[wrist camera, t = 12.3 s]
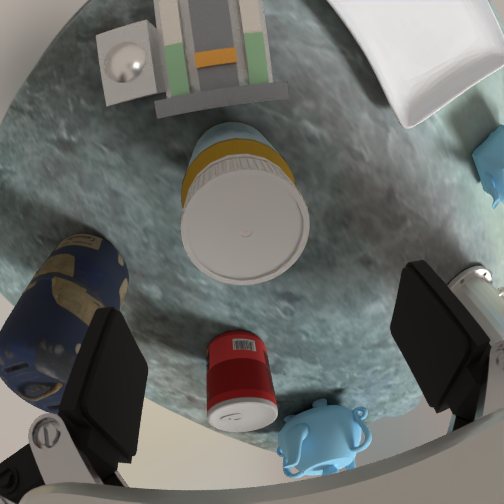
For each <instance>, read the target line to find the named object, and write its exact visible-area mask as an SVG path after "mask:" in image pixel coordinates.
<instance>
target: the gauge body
mask: <svg viewBox="0 0 504 504" xmlns="http://www.w3.org/2000/svg"><path fill="white" fill-rule="evenodd" d="M153 1H154V10H155V18H156V26H157V28H155V27H154V26H153V25H152V24H151V23H150V22H149V21H148V20H143V21H139V22H136V23H132V24H129V25H126V26H122V27H119V28H116V29H113V30H110V31H107V32H104V33H101V34H98V35H96V41H97V50H98V57H99V64H100V71H101V77H102V84H103V89H104V95H105V101H106V106H110V105H115V104H119V103H124V102H128V101H131V100H135V99H139V98H143V97H147V96H151V95H155V94H160V93H164V92H166V95H167V98H170V97H175V96H180V95H185V94H190V93H196V92H201V91H200V85H199V78H198V71H197V68H196V64H195V56H194V53H195V50H194V42H193V35H192V28H191V20H190V12H189V4H188V0H153ZM228 4H229V11H230V19H231V26H232V33H233V41H234V47H236V55H237V71H238V79H239V86H243V85H252V84H262V83H273V77H272V69H271V60H270V52H269V44H268V36H267V29H266V22H265V14H264V7H263V0H228Z"/></svg>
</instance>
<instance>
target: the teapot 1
mask: <svg viewBox="0 0 504 504" xmlns="http://www.w3.org/2000/svg"><path fill="white" fill-rule="evenodd" d="M312 406H313V408H312V409H309V410H306V411H304V412H301V413H299V414H297V415H289V416H286V417H285V418H284V421H285V422H286V424H285V425H284V426H283V428H282V429H281V431H280V432H279V434H278V443H279V447H278V449H277V454H278V455H279V456H280V457H284V458H283V471H284V474H285V475H286V476H288V477H290V478H300V477H302V476H304V475H321V474H322V476H325V475H330V474H334V473H338V472H339V471H338V470H339V469H341V468H343V467H345V468H346V469H347V470H349V469H353V468H356V465H355V456H356V453H357V452H360V451H362V450H364V449H365V448H367V447H368V445H369V444H370V443H371V440H372V435H371V432H370V430H369V428H368V427H367V426H366V424H365V423H364V422H363V421H362V419H365V418H366V417H367V414H368V411H367V409H366V408H365V407H357V408H355V409H354V410H351V409H349V408H346V407H344V406H340V405H327V400H326V399H318V400H316V401H314V402H313V403H312ZM360 412H363V415H362V416H361V417H359V413H360ZM361 428H362V430H363V432H364V434H365V441H364V442H363V444H361V445H360V446H359V443H360V439H361ZM282 453H283V454H282ZM293 466H294V467H295V468H296V469H298V470H299V471H300V472H298V473H296V474H292V473H291V471H290V467H293Z"/></svg>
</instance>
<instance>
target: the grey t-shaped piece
mask: <svg viewBox="0 0 504 504" xmlns="http://www.w3.org/2000/svg"><path fill="white" fill-rule="evenodd" d="M188 4H189V12H190V20H191V28H192V35H193V42H194V50H195V53H194V56H195V64H196V68H197V71H198V78H199V85H200V91H201V92H196V93H190V94H185V95H180V96H175V97H170V98H166V99H161V100H157V101H154V104H155V110H156V115H157V119H159V118H164V117H168V116H173V115H178V114H183V113H188V112H194V111H199V110H205V109H211V108H218V107H224V106H231V105H239V104H247V103H256V102H265V101H276V100H288V99H289V92H288V82H274V83H262V84H252V85H243V86H239V79H238V71H237V55H236V47H234V41H233V33H232V26H231V19H230V11H229V4H228V0H188Z"/></svg>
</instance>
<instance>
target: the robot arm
mask: <svg viewBox="0 0 504 504" xmlns="http://www.w3.org/2000/svg"><path fill="white" fill-rule="evenodd" d="M491 283H492V278H491V274H490V272H489V271H488V270H487V269H486V268H485V267H483V266H473V267H470V268H468V269H466V270H464V271H463V272H461V273H460V274H459V275H457V276H456V277H455V278H454V279H453V280H452V281H451V282H450V283H449V284H448V286H447V285H446V284H445V283H444V282H443V281H442V279H441V278H440V277H439V276H438V275H437V274H436V273H435V272H434V271H433V269H432V268H431V267H430V266H429V265H428V264H427V263H426V262H425V261H424V260H419V261H414V262H409V263H407V265H406V267H405V268H403V270H402V273H401V279H400V284H399V289H398V294H397V298H396V303H395V308H394V312H393V316H392V321H391V325H390V330H391V334H392V336H393V338H394V340H395V342H396V343H397V345H398V347H399V349H400V351H401V352H402V354H403V356H404V358H405V360H406V362H407V364H408V365H409V367H410V369H411V371H412V373H413V375H414V377H415V379H416V381H417V383H418V385H419V387H420V389H421V390H422V392H423V394H424V396H425V398H426V400H427V403H428V404H429V406H430V407H434V409H435V411H436V413H439V412H442V411H444V410H446V409H448V408H450V409H451V411H452V417H451V421H450V425H449V428H448V432H447V434H446V435H444V436H442V437H440V438H437V439H435V440H433V441H430V442H428V443H426V444H424V445H421V446H419V447H416V448H413V449H411V450H408V451H406V452H403V453H401V454H397V455H395V456H392V457H389V458H386V459H383V460H380V461H377V462H374V463H370V464H367V465H364V466H360V467H357V468H353V469H349V470H346V471H342V472H338V473H334V474H330V475H325V476H321V477H316V478H311V479H306V480H301V481H295V482H289V483H283V484H276V485H269V486H260V487H250V488H239V489H226V490H159V489H142V488H130V487H129V486H128V485H127V483H126V482H125V481H124V479H123V478H122V476H121V475H120V474H119V472H118V471H117V467H118V462H120V463H130V464H131V460H132V456H135V455H136V451H137V444H138V436H139V428H140V421H141V414H142V407H143V401H144V395H145V388H146V382H147V376H148V365H147V362H146V361H145V359H144V357H143V355H142V353H141V351H140V349H139V347H138V345H137V344H136V342H135V340H134V338H133V336H132V334H131V332H130V330H129V328H128V326H127V324H126V321H125V319H124V317H123V315H122V313H121V312H120V311H117V310H116V309H115V308H114V307H103V308H98V309H96V311H95V313H94V315H93V318H92V320H91V322H90V325H89V327H88V329H87V332H86V334H85V337H84V339H83V342H82V344H81V347H80V349H79V352H78V354H77V357H76V360H75V362H74V365H73V368H72V370H71V373H70V376H69V379H68V381H67V384H66V387H65V390H64V393H63V396H62V399H61V402H60V405H59V412H58V415H56V414H52V413H48V414H43V415H41V416H39V417H38V418H37V419H35V420H34V422H33V423H32V425H31V427H30V429H29V434H28V439H29V444H27V445H26V446H24V447H23V448H21V449H20V450H19V451H17V452H16V453H14V454H13V455H12V456H10V457H9V458H7V459H6V460H4V461H3V462H1V463H0V504H504V296H503V295H504V287H501V288H498V289H496V288H495V287H494V286H493V285H492V284H491Z"/></svg>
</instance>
